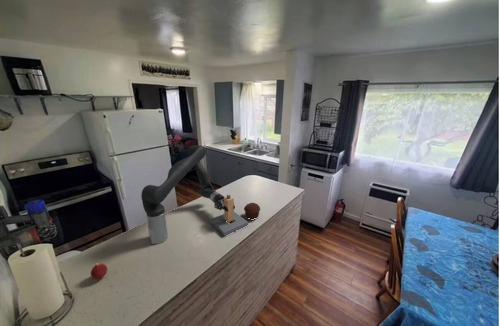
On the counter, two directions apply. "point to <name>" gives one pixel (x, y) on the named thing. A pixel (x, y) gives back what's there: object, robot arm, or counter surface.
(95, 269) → the onion
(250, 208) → the muffin
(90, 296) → the counter surface
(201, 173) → the robot arm
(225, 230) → the socket
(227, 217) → the plug
